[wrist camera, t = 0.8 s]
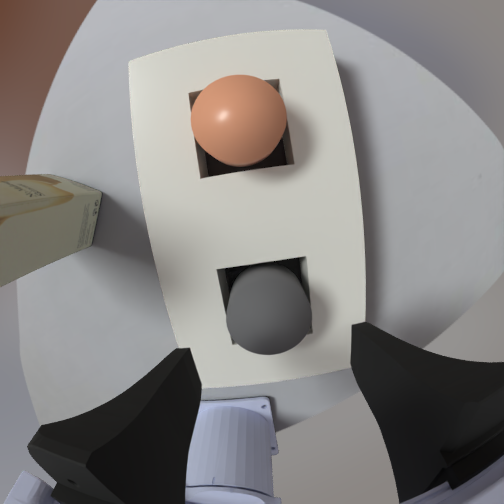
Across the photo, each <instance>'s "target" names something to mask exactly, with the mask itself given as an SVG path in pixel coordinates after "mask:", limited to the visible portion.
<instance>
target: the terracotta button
mask: <svg viewBox="0 0 504 504" xmlns="http://www.w3.org/2000/svg"><path fill="white" fill-rule="evenodd" d="M286 122H287V113H286V108H285V104H284V102H283V99H282V98H281V96H280V94H279V93H278V92H277V91H276V89H275V88H274V87H272V86H271V85H270V84H269V83H267V82H266V81H264V80H262V79H260V78H257V77H254V76H250V75H230V76H226V77H223V78H220V79H218V80H216V81H214V82H212V83H211V84H209V85H208V86H207V87H206V88H204V90H203V91H202V92H201V93H200V94H199V96H198V97H197V99H196V100H195V102H194V105H193V108H192V112H191V127H192V131H193V134H194V137H195V138H196V140H197V142H198V143H199V145H200V146H201V147H202V148H203V149H204V150H205V151H206V152H208V153H209V154H210V155H212V156H213V157H214V158H216V159H217V160H219V161H220V162H222V163H224V164H227V165H230V166H235V167H246V166H251V165H254V164H257V163H259V162H261V161H263V160H264V159H266V158H267V157H268V156H269V155H270V154H271V153H272V152H273V150H274V149H275V147H276V146H277V144H278V142H279V141H280V139H281V137H282V135H283V133H284V131H285V128H286Z"/></svg>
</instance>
